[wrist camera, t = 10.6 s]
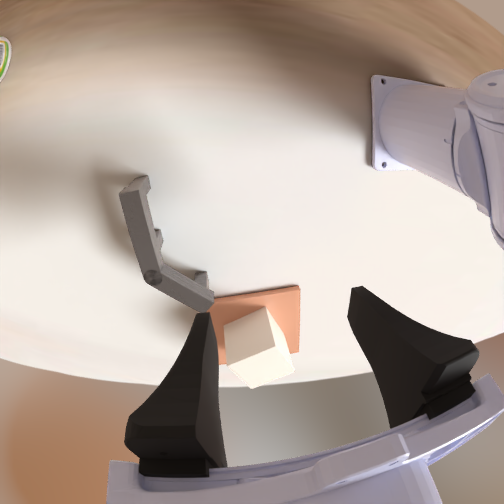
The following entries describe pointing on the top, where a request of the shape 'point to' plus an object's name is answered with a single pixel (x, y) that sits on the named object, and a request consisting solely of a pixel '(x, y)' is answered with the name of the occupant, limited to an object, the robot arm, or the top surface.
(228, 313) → the terracotta tile
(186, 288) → the bent rail
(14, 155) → the top surface
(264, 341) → the cream block
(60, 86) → the top surface
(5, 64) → the supplement bottle
